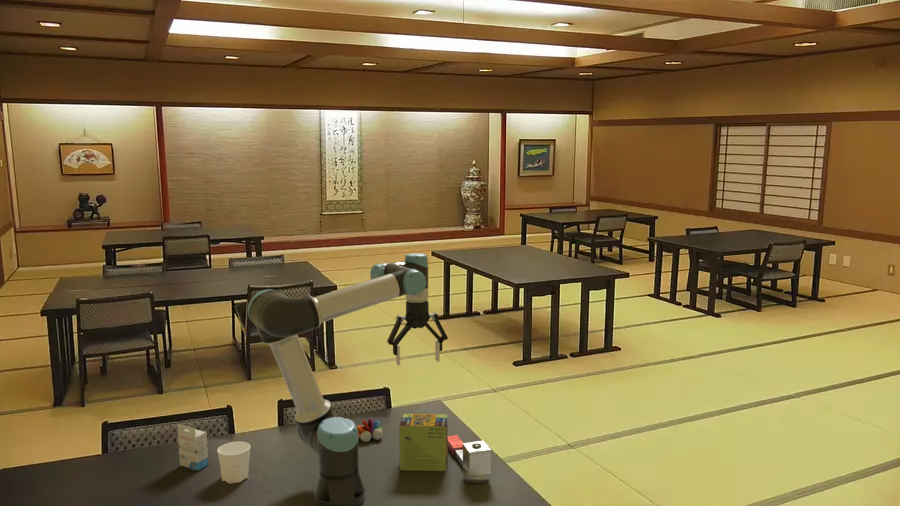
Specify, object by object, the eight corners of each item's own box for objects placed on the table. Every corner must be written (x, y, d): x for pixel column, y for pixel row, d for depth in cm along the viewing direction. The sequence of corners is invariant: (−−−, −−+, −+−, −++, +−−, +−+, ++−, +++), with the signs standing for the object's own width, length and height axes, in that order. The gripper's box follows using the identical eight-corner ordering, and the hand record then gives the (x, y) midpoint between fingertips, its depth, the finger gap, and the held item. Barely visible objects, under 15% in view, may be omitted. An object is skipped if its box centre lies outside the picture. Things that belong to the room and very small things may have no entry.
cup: (218, 486, 213) (216, 456, 211) (219, 472, 222) (218, 443, 221) (251, 482, 216) (250, 452, 214) (252, 468, 225) (250, 440, 224)
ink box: (209, 465, 228) (206, 423, 225) (197, 471, 223) (195, 428, 221) (191, 460, 231) (188, 418, 229) (179, 466, 227) (176, 423, 225)
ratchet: (467, 485, 213) (467, 460, 211) (440, 445, 242) (440, 422, 241) (492, 482, 215) (492, 457, 214) (462, 442, 244) (462, 420, 243)
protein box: (446, 471, 222) (446, 426, 220) (399, 470, 223) (398, 425, 221) (448, 457, 233) (448, 413, 230) (403, 456, 233) (402, 413, 231)
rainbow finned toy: (353, 435, 251) (352, 417, 250) (378, 431, 255) (377, 412, 254) (360, 444, 243) (359, 425, 242) (386, 439, 247) (385, 420, 246)
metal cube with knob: (469, 476, 212) (469, 451, 211) (462, 467, 219) (462, 442, 218) (490, 473, 214) (490, 448, 213) (483, 464, 221) (483, 439, 220)
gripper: (382, 305, 219) (383, 369, 223) (456, 300, 227) (456, 362, 230) (377, 300, 227) (379, 362, 230) (450, 295, 234) (450, 355, 237)
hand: (418, 362), depth 230 cm, fingers open, 13 cm apart
